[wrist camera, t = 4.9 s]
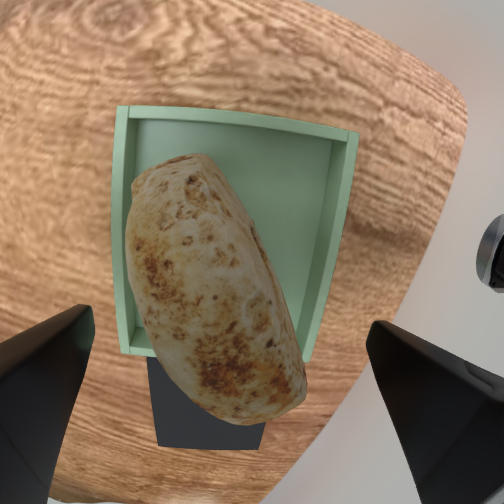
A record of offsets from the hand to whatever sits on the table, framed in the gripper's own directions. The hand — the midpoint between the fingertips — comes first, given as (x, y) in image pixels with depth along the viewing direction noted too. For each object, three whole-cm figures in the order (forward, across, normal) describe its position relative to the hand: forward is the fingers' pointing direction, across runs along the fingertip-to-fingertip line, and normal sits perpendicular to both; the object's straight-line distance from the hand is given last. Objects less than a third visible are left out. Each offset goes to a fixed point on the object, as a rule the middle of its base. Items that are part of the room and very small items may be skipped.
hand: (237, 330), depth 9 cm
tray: (+9, 0, 0) cm, 9 cm away
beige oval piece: (+8, 0, 0) cm, 8 cm away
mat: (+9, 0, +14) cm, 16 cm away
